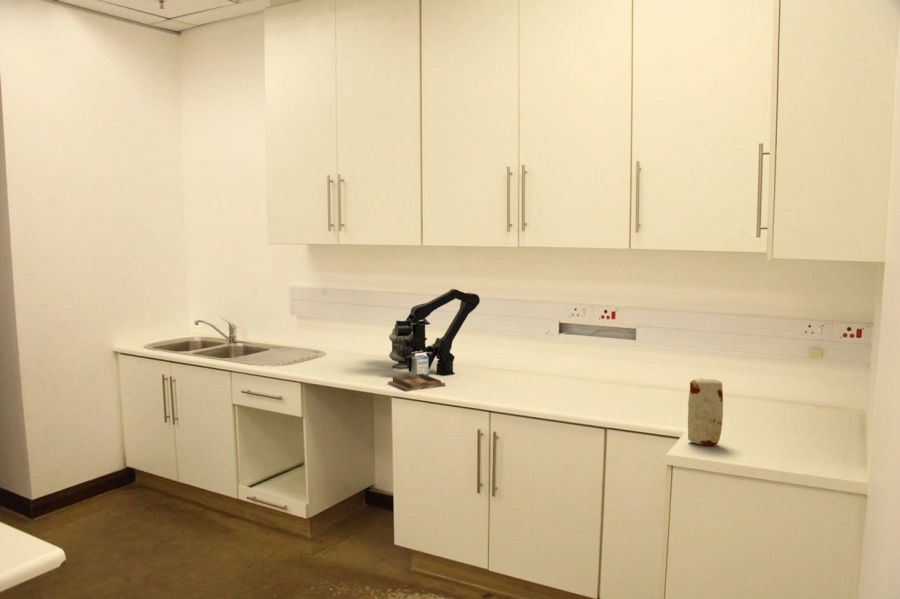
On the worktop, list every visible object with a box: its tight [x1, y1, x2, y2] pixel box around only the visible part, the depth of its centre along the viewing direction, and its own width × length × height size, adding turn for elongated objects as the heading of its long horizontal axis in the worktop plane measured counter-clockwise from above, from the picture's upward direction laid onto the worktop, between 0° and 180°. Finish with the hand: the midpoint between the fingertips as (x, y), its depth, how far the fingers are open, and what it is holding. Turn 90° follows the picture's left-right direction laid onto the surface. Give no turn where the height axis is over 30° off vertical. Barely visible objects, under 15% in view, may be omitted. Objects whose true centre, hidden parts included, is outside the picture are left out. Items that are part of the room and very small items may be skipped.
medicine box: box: [409, 354, 430, 376], centre depth 307 cm, size 8×4×9 cm, turn 142°
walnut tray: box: [388, 374, 446, 392], centre depth 290 cm, size 18×16×2 cm
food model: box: [687, 377, 724, 447], centre depth 208 cm, size 10×7×20 cm
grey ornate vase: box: [388, 328, 416, 370], centre depth 326 cm, size 12×12×18 cm
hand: (419, 370), depth 307 cm, fingers closed on medicine box, 9 cm apart
